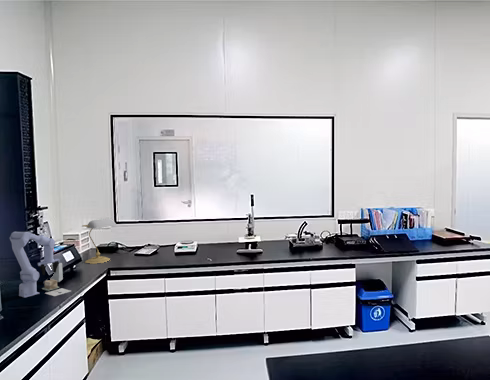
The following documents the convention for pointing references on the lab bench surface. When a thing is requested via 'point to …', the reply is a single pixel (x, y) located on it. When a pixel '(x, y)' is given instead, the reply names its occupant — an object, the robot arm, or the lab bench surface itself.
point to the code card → (58, 292)
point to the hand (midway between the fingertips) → (49, 273)
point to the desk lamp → (92, 224)
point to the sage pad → (49, 289)
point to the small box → (57, 273)
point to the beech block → (51, 284)
